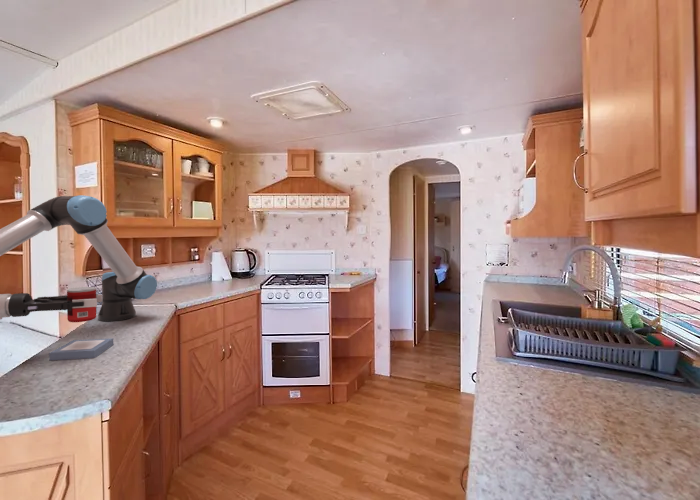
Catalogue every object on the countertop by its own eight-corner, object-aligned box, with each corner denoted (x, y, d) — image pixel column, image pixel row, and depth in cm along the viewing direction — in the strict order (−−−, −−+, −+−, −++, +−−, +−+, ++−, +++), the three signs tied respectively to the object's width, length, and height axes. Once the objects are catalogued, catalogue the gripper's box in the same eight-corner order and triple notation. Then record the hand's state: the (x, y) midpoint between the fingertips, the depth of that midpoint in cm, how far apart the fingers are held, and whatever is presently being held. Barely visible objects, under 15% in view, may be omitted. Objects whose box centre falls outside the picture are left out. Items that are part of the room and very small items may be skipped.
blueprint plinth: (73, 346, 119) (73, 339, 119) (113, 344, 122) (113, 338, 122) (49, 360, 106) (49, 352, 106) (94, 357, 109) (94, 350, 109)
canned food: (102, 317, 117) (101, 287, 117) (81, 323, 109) (81, 291, 109) (82, 316, 118) (82, 286, 118) (61, 322, 110) (60, 290, 110)
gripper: (25, 310, 114) (105, 304, 125) (-4, 324, 96) (92, 317, 107) (25, 288, 114) (105, 285, 125) (-5, 299, 96) (92, 294, 106)
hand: (99, 300), depth 116 cm, fingers closed on canned food, 8 cm apart
